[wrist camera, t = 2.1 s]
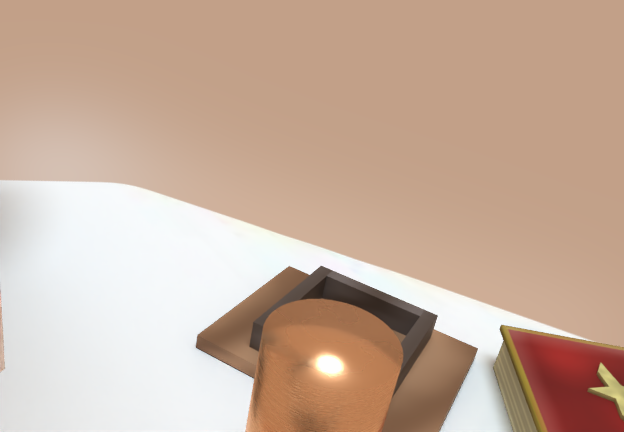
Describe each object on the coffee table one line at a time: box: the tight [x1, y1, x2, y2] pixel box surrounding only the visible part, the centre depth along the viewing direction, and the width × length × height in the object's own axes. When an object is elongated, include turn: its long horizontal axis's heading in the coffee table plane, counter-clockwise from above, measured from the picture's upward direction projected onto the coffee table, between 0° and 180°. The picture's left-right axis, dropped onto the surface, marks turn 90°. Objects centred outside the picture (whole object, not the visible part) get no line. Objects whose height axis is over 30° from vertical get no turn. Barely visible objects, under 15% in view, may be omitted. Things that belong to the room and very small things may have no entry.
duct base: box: [196, 266, 478, 432], centre depth 41 cm, size 16×12×3 cm
